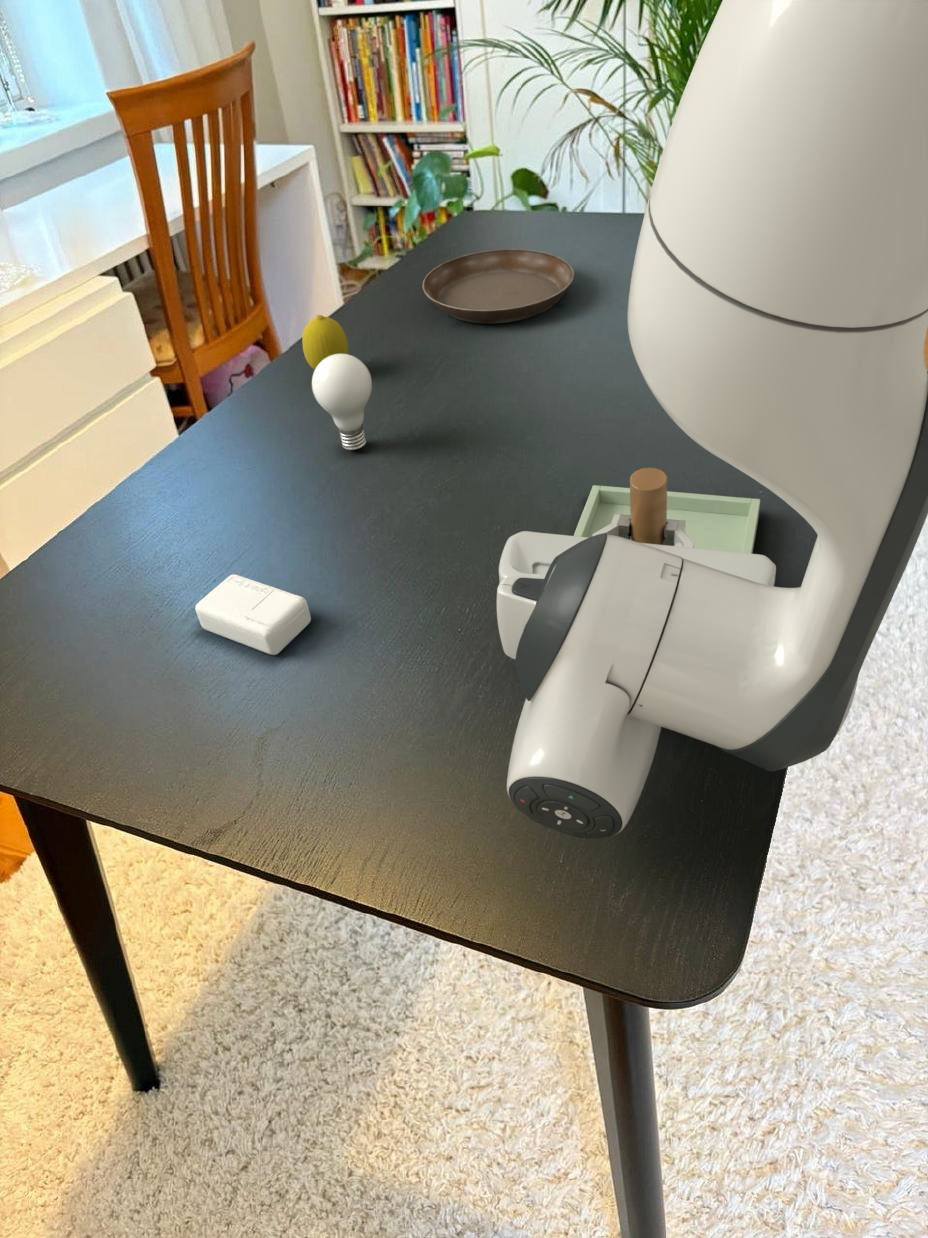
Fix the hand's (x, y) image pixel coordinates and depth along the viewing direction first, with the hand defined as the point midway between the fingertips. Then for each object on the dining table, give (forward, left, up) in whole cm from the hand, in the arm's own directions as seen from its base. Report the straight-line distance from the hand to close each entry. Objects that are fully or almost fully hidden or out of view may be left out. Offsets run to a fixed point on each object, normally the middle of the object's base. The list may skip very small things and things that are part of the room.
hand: (649, 523), depth 78 cm
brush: (0, 0, -7) cm, 7 cm away
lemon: (+46, -36, -8) cm, 59 cm away
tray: (0, -2, -8) cm, 8 cm away
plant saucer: (+31, -60, -8) cm, 68 cm away
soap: (+33, +10, -8) cm, 35 cm away
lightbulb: (+36, -20, -8) cm, 42 cm away
